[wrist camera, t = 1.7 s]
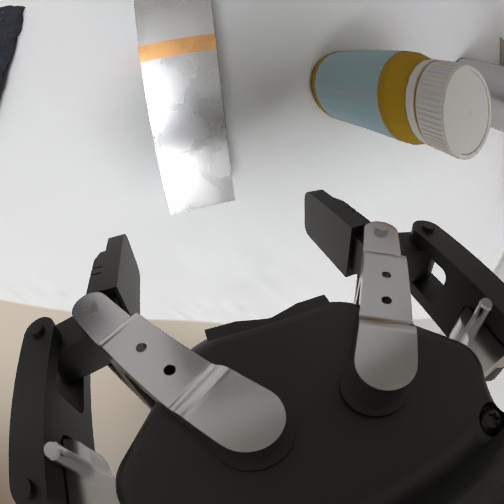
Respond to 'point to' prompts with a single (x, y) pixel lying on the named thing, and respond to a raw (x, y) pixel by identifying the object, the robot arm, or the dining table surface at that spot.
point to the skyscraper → (501, 52)
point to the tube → (185, 101)
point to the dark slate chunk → (8, 33)
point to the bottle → (407, 98)
